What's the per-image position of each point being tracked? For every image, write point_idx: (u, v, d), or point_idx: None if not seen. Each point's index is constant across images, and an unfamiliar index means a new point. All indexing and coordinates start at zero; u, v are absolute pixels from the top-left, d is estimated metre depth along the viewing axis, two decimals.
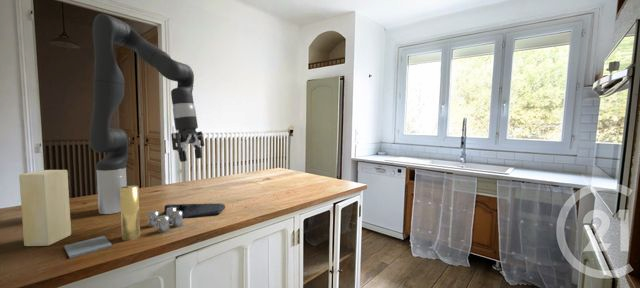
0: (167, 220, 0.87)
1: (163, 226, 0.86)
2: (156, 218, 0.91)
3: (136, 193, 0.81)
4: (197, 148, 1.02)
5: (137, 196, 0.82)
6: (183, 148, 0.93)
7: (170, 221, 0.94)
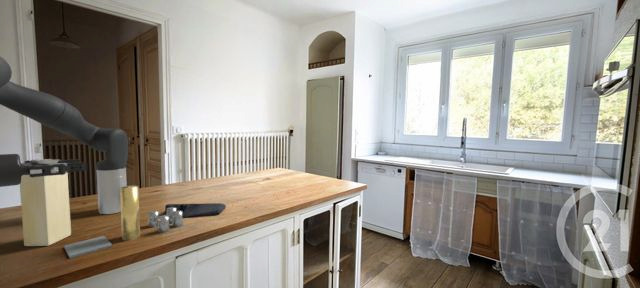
0: (167, 220, 0.87)
1: (163, 226, 0.86)
2: (156, 218, 0.91)
3: (136, 193, 0.81)
4: None
5: (137, 196, 0.82)
6: None
7: (171, 221, 0.94)
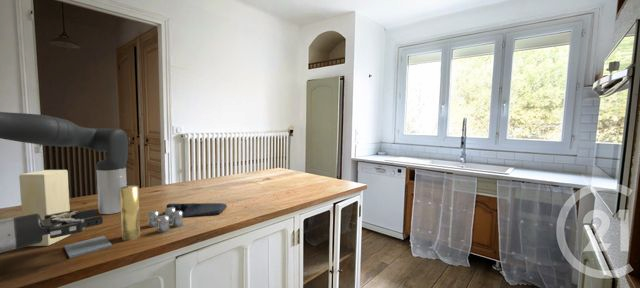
0: (167, 220, 0.87)
1: (163, 226, 0.86)
2: (156, 218, 0.91)
3: (136, 193, 0.81)
4: None
5: (137, 196, 0.82)
6: None
7: None
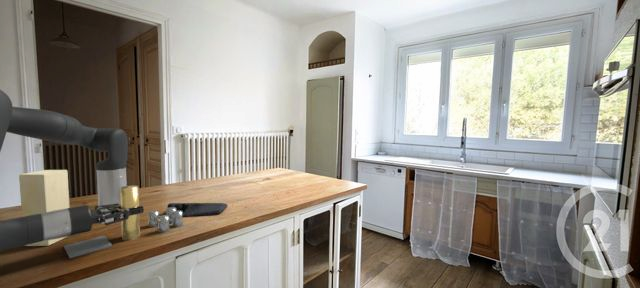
0: (167, 220, 0.87)
1: (163, 226, 0.86)
2: (156, 218, 0.91)
3: (136, 193, 0.81)
4: None
5: (137, 196, 0.82)
6: None
7: None
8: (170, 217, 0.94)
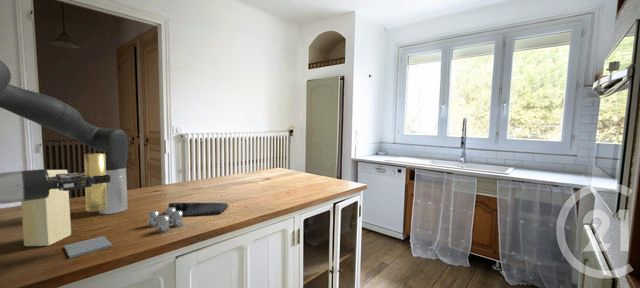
0: (167, 220, 0.87)
1: (163, 226, 0.86)
2: (156, 218, 0.91)
3: (102, 161, 0.75)
4: None
5: (104, 164, 0.76)
6: None
7: None
8: (171, 217, 0.94)
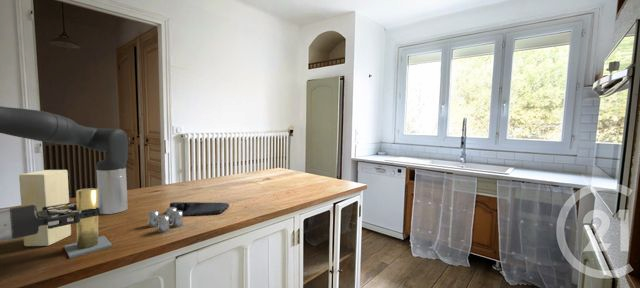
0: (167, 220, 0.87)
1: (163, 226, 0.86)
2: (156, 218, 0.91)
3: (95, 196, 0.75)
4: None
5: (96, 199, 0.75)
6: None
7: None
8: None
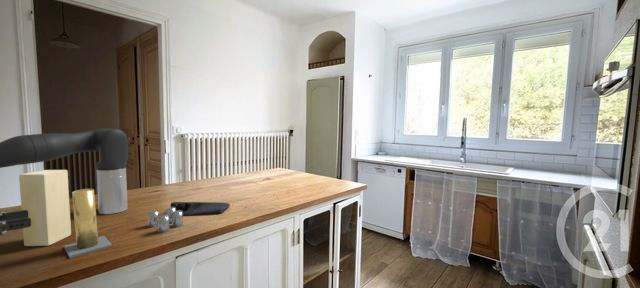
0: (167, 220, 0.87)
1: (163, 226, 0.86)
2: (156, 218, 0.91)
3: (91, 197, 0.74)
4: None
5: (92, 200, 0.74)
6: None
7: None
8: None
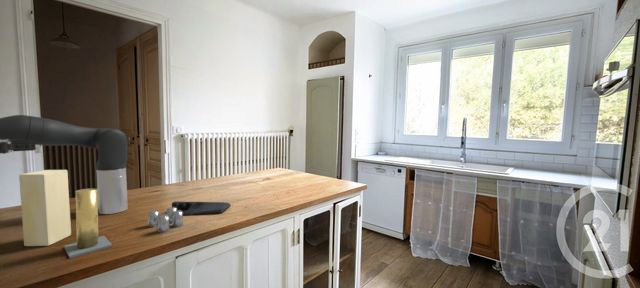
0: (167, 220, 0.87)
1: (163, 226, 0.86)
2: (156, 218, 0.91)
3: (94, 197, 0.74)
4: None
5: (95, 200, 0.75)
6: None
7: None
8: None
